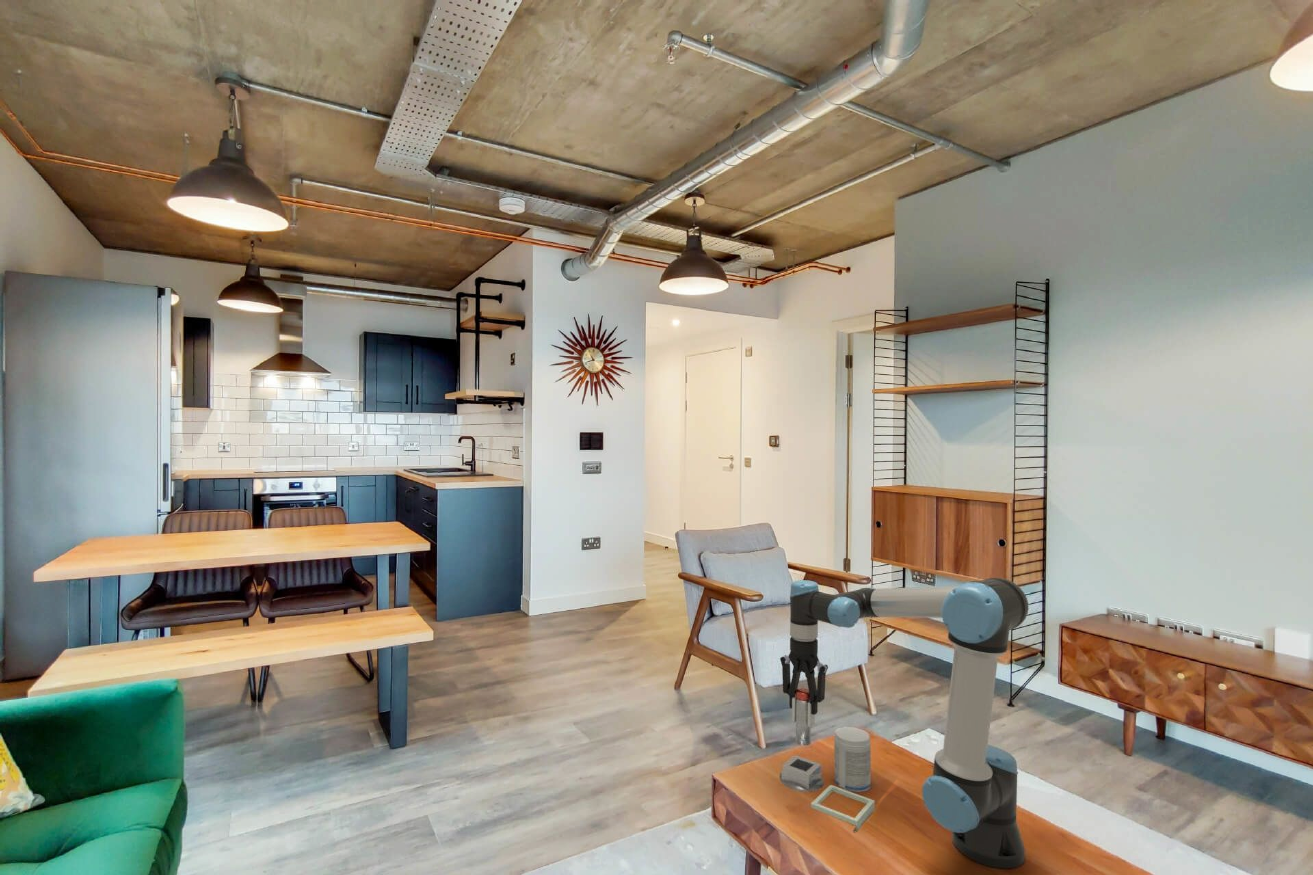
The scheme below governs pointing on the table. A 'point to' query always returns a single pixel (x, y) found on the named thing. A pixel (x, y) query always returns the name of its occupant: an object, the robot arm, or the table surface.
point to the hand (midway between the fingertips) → (803, 722)
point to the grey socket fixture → (801, 774)
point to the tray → (857, 821)
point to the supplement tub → (852, 759)
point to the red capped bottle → (802, 717)
